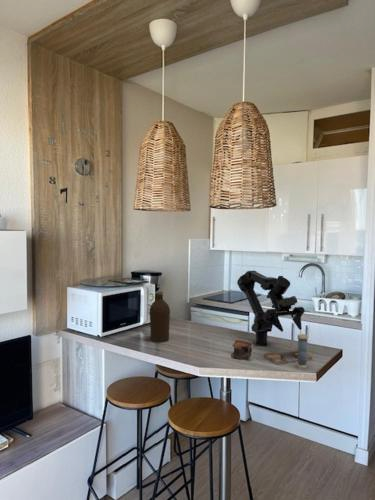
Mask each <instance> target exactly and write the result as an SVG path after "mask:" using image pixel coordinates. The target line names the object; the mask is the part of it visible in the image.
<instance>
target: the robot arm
mask: <svg viewBox="0 0 375 500" xmlns="http://www.w3.org/2000/svg"><path fill="white" fill-rule="evenodd" d="M256 283H257V284H259V285H260V288H261V289H262V290H263V291H268V292H267V296H266V299H270V302H271V304H272V305H271V307H272V308H269V309H267V310H265V311H264V309H263V307H262V305H261V302H260V300H259V298H258V296H257V293H256V291H255V285H256ZM236 284H237V286H238V288H239V290H240V291H241V292H243V293H244V294H245V296H246V299H247V301H248V303H249V305H250V308H251V311H252V312H253V315H254V318H253V323H252V325H251V331H252V332H253V333H255V340H254V343H253V345H255V346H256V345H257V346H266V347H267V346H268V345H269V344H270V343H269V340H268V332H270V333H271V332H272V330H273V326H274V327H275V328H277V329H278V330H279V331H280V332H282V333H283V332H284V328H283V326H282V324H281V321H280V319H279V317H285V316H291V318H292V321H293V322H294V324H295V326H296V327H297V329H298V330H300V331H302V317H303V315H304V314H305V312H306V310H305V308H304V307H303V306H295V305H296V304H298V299H297V297H296V296H295V295H292V296H290V297H284V296H283V295H285V293H286V292H287V291H288V289H289V288H290V287H291V281H290V280H289V279H287V278H286V277H284V275H278V277H277V278H276V277H274V276H273V277H271V276H265V275H263V274H262V273H260V272H258V271H256V270H247V271H246V272H245V273H244V274H242V275H241V276H239V278H238V279H237V282H236ZM292 306H295V307H294V308H293V309H292ZM291 309H292V310H291Z"/></svg>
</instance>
